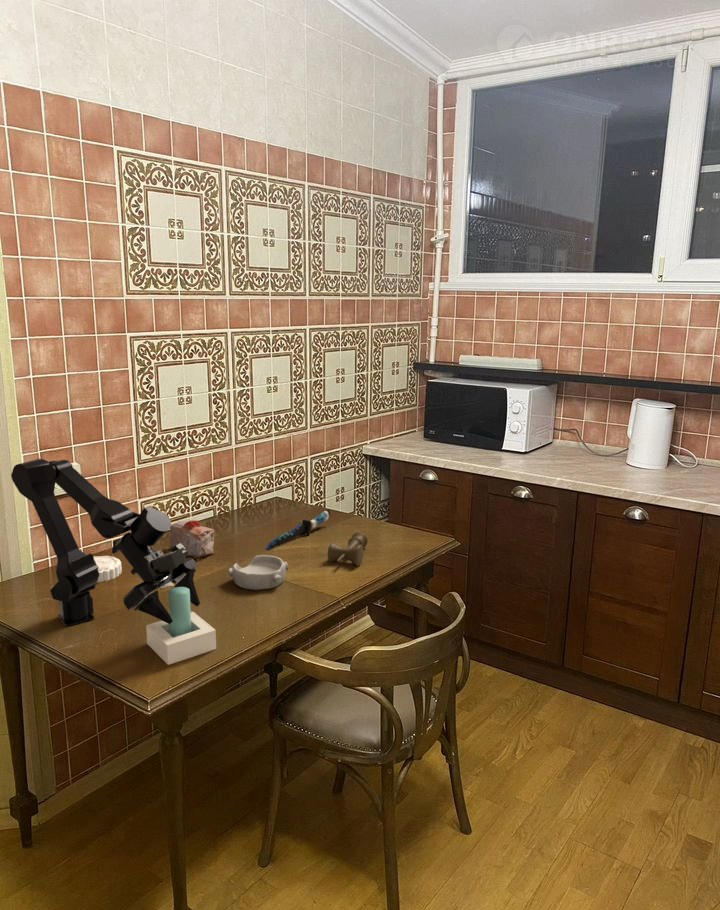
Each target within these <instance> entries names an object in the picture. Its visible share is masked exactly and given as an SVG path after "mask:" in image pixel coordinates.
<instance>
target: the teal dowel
mask: <svg viewBox="0 0 720 910" xmlns="http://www.w3.org/2000/svg"><path fill="white" fill-rule="evenodd" d="M168 608H169V612H168V613H169V615H170V616H171V618H172V620H173V622H172V623H171V624H170V633H171V636H172V637H173V638H174V637H177V636H180V635H183V634H187V633H190V632H191V612H192V610H191V602H190V590H189V589H188V588H186V587H176V588H175V587H173V588H171V589H170V590H168Z"/></svg>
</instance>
